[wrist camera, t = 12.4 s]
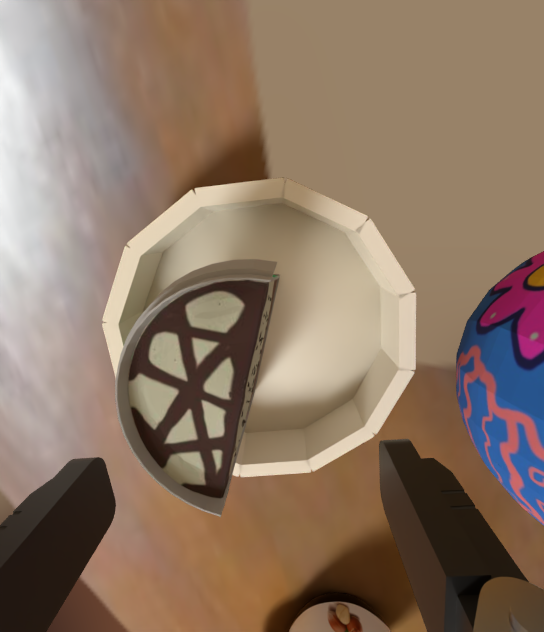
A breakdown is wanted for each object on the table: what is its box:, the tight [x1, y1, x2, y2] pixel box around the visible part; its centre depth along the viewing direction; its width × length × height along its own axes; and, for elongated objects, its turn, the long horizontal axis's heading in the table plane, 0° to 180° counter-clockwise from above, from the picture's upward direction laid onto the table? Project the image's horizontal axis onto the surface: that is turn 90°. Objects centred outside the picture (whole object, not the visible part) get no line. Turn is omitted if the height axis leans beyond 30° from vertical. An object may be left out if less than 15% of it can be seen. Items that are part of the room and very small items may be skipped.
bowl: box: [102, 177, 416, 477], centre depth 22 cm, size 19×19×4 cm
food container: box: [115, 259, 280, 517], centre depth 18 cm, size 12×6×10 cm, turn 168°
